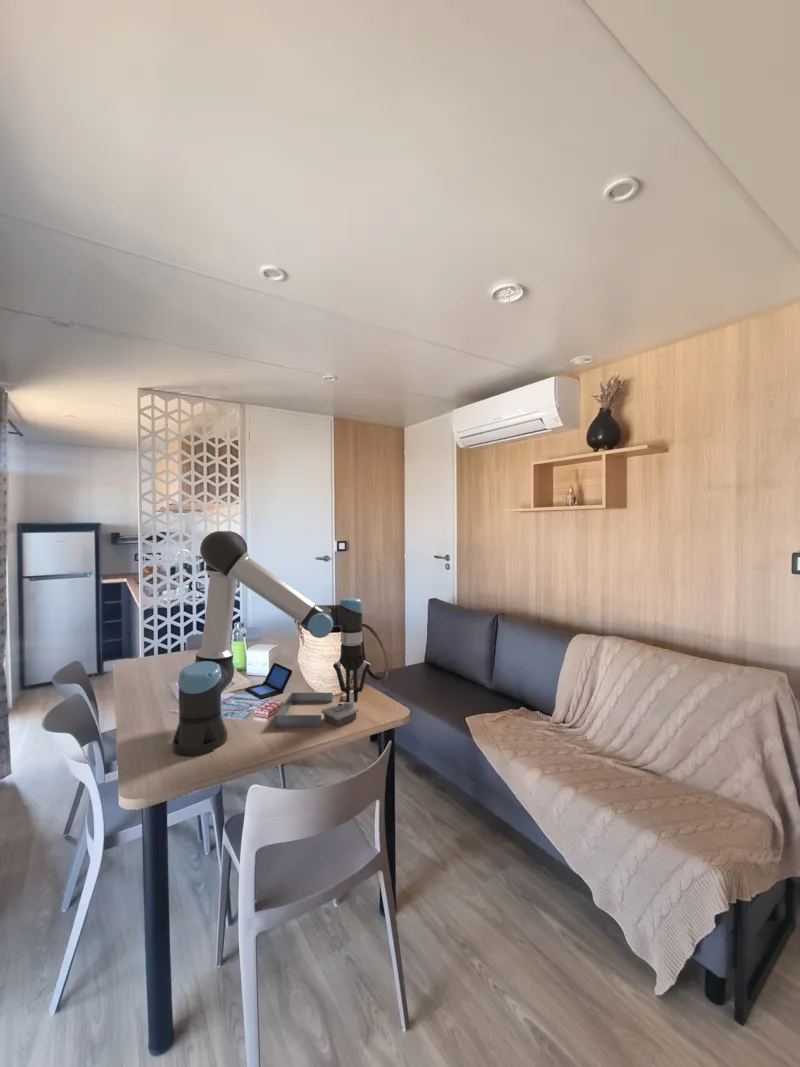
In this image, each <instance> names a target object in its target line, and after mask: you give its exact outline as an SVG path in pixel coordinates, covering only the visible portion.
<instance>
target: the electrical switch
mask: <svg viewBox="0 0 800 1067" xmlns="http://www.w3.org/2000/svg"><path fill="white" fill-rule="evenodd" d="M357 712H359V707H358V706H352V705H350V703H348V702H346V701H340V702H338V703H335V704H333V705H330V706H327V707H325V708H323V709H321V713H322V714H323V717H324V718H323V719H324V721H327V722H328V723H331V724H332V725H335V726H337V727H339V726H340V727H341V726H342V725H345V724H347V723H349V722H352V721H354V720H357Z"/></svg>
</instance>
